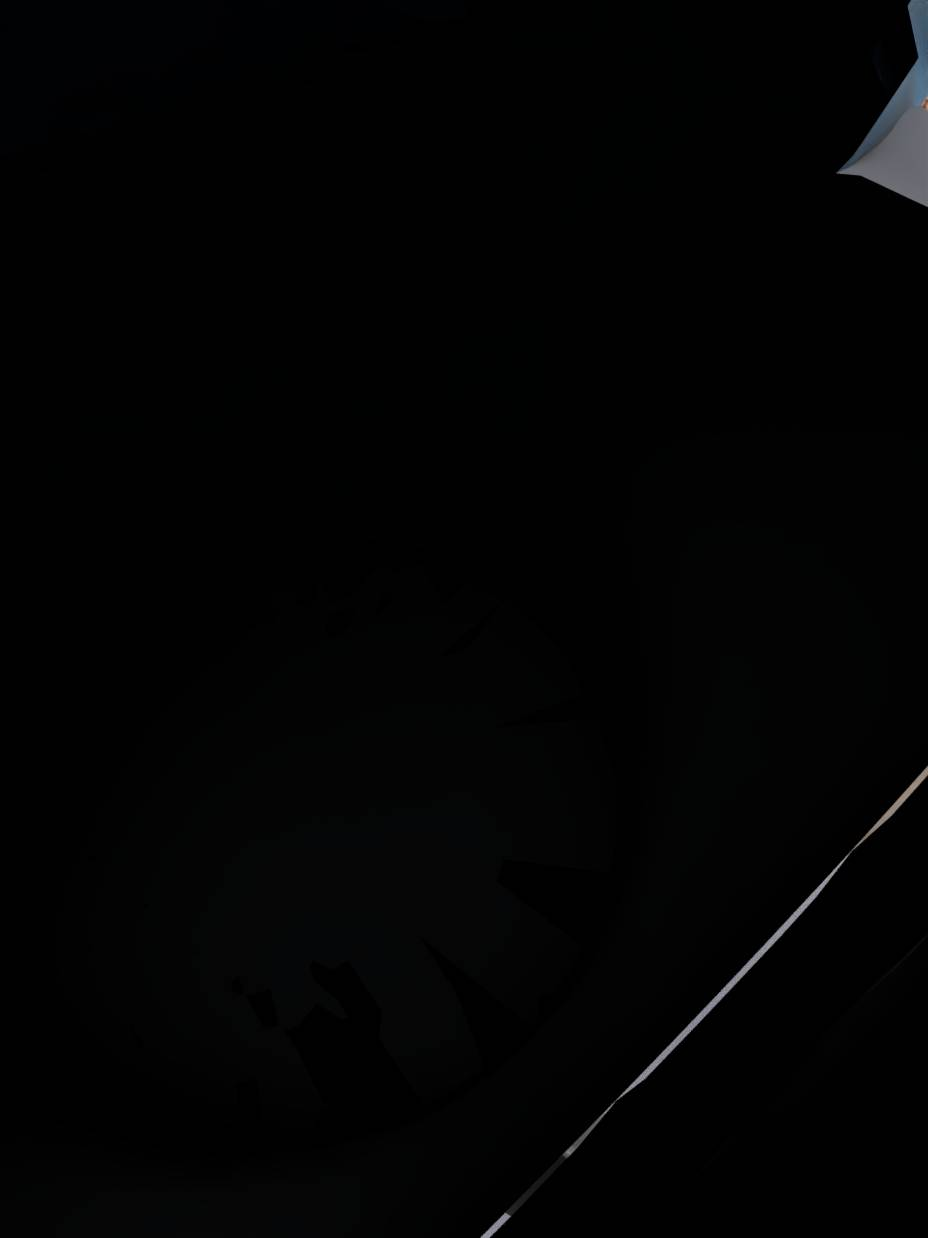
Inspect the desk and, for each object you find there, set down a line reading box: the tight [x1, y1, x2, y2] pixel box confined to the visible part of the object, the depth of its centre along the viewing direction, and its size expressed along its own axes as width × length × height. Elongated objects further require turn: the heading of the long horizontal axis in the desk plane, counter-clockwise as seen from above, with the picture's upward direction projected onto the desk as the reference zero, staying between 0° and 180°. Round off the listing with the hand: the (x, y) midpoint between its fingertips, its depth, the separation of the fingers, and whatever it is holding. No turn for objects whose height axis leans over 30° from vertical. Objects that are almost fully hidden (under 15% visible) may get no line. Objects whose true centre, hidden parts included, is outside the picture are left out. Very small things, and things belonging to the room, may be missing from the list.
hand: (429, 1125), depth 31 cm, fingers open, 13 cm apart
